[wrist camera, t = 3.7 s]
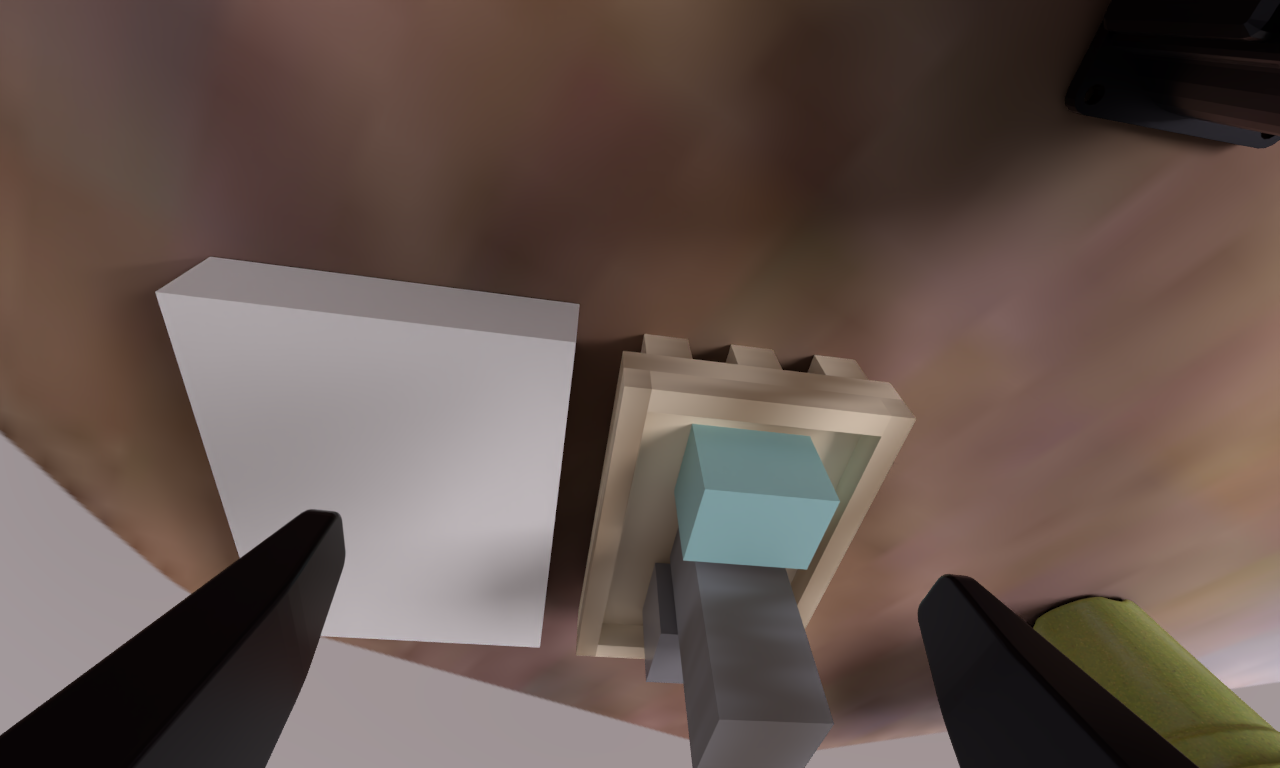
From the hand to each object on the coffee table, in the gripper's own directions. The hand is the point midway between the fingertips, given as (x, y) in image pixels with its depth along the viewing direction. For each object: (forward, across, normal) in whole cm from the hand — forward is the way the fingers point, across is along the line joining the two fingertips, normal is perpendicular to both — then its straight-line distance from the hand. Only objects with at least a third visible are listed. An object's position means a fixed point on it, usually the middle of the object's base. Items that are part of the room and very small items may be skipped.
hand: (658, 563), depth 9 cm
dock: (+11, +7, +9) cm, 16 cm away
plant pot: (+12, -27, +16) cm, 33 cm away
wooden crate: (+12, -5, +9) cm, 15 cm away
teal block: (+9, -5, +5) cm, 12 cm away
